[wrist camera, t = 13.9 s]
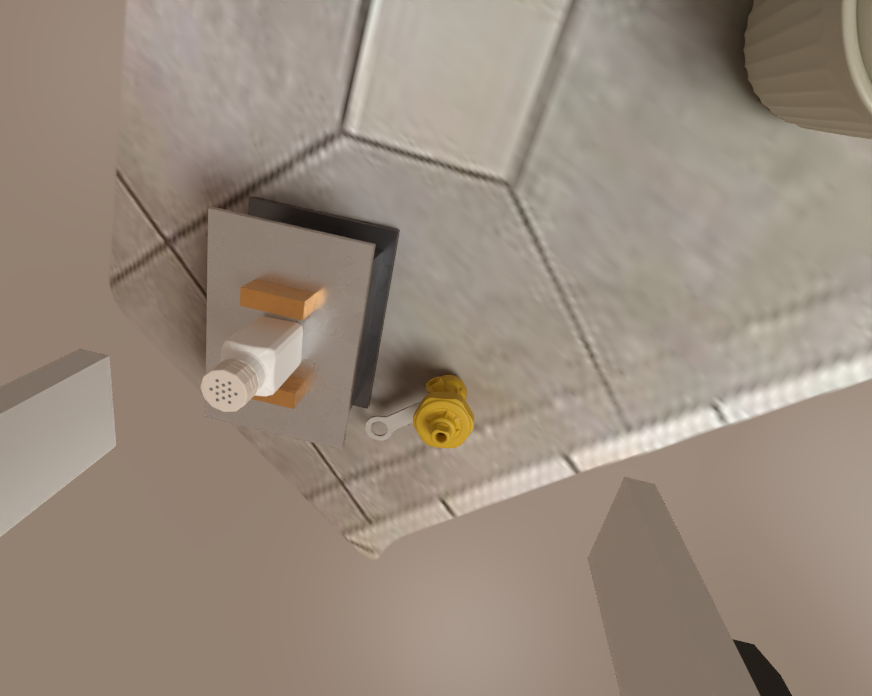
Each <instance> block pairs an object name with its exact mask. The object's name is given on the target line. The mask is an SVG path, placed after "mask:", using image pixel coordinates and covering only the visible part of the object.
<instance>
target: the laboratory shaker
mask: <svg viewBox="0 0 872 696" xmlns="http://www.w3.org/2000/svg"><path fill="white" fill-rule="evenodd" d="M399 232H400V230H397V229H393V228H389V227H384V226H380V225H375V224H371V223H367V222H362V221H358V220H354V219H349V218H345V217H340V216H336V215H332V214H327V213H323V212H319V211H314V210H310V209H305V208H301V207H297V206H292V205H288V204H284V203H279V202H275V201H270V200H266V199H262V198H257V197H250V198H249V213H248V215H246V214H242V213H238V212H233V211H229V210H225V209H220V208H216V207H211V208H208V256H207V325H206V374H207V373H208V372H209V371H211V370H212V369H213V368H214V367H216V366H217V365H218V364H219V363H220V362H221V350H222V346H223V344H224V342H225V340H227V339H228V338H229V337H231V336H232V335H234V334H235V333H236V332H238V331H239V330H241V329H242V328H243V327H245V326H246V325H248V324H249V323H250V322H252V321H253V320H255V319H256V318H257V317H261V316H265V317H270V318H275V319H280V320H285V321H290V322H295V323H299V324H301V325H302V327H303V341H302V357H301V363H300V365H299V366H298V367H297V368H296V370H295V371H294V372H293V373H292V374H291V375H290V376H289V377H288V379H287V380H286V381H285V382H284V383H283V384H282V385H281V386H280V387H279V389H278V390H277V391H276V392H275V393H274V394H273V395H270V396H255V395H254V396H253V397H252V398H251V399H250V400H249V402H248V403H247V404H246V405H245V406H243V407H242V408H240V409H239V410H237V411H236V412H223V411H221V410H218V409H216V408H214V407H212V406H211V405H210V404H209V403H208V402H207V401H206V399H205V417H207V418H212V419H216V420H220V421H225V422H229V423H233V424H237V425H241V426H245V427H250V428H254V429H258V430H262V431H266V432H271V433H275V434H279V435H283V436H288V437H292V438H296V439H300V440H304V441H309V442H313V443H317V444H321V445H326V446H330V447H334V448H338V449H343V447H344V445H345V438H346V432H347V426H348V419H349V413H350V410H351V408H352V406H353V405H355V406H359V407H363V408H367V409H368V406H369V404H370V399H371V393H372V388H373V382H374V376H375V370H376V365H377V359H378V353H379V347H380V341H381V336H382V330H383V324H384V318H385V313H386V307H387V301H388V295H389V289H390V284H391V278H392V272H393V266H394V261H395V255H396V249H397V243H398V237H399Z"/></svg>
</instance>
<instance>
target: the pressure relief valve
mask: <svg viewBox="0 0 872 696" xmlns="http://www.w3.org/2000/svg"><path fill="white" fill-rule="evenodd" d="M425 388H426V390H427V391H428V393H429V394H427V395H426V396H425V398H424V399H423V400H422V401H420V402H418V403H416V404H414V405H411V406H409V407H407V408H405V409H402V410H400V411H398V412H396V413H393V414H391V415H389V416H373V417H371V418H370V419H369V420H368V421H367V423H366V427H365V428H366V432H367V434H368V435H369V436H370V437H371V438H373V439H375V440H379V441H382V440H386V439H388V438H389V437H390V436H391V435H392V433H393V432H394V431H395V430H396V429H398V428H401V427H403V426H405V425H408V424H410V423H412V422H413V425H414V427H415V429H416V431H417V432H418V434H419V436H420V437H421V439H422V440H423V441H424V443H426V444H428V445H429V446H432V447H439V448H456V447H458V446H460V445H461V444H462V443H463V442H464V441H465V440H466V438H467V437H468V436H469V434H470V433H471V431H472V430H473V427H474V415H473V413H472V411H471V409H470V407H469V406H468V404H467V402H466V401H465V400H466V395H467V389H466V387H465V385H464V383H463V382H462V380H461V379H459V378H458V377H456V376H454V375H443V376H440V377H435V378H433V379H431V380H429V381H428V382H427V383H426V385H425ZM376 421H380V422H383V423H384V424H386V426H387V428H388V431H387V433H386V434H384V435H377V434H375V433H374V432H373V431H372V429H371V425H372V423H374V422H376Z"/></svg>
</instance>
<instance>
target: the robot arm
mask: <svg viewBox="0 0 872 696" xmlns="http://www.w3.org/2000/svg"><path fill="white" fill-rule="evenodd" d="M115 446H116V438H115V424H114V411H113V398H112V384H111V371H110V357H109V355H104V354H100V353H96V352H92V351H87V350H83V349H79V350H76V351H74V352H72V353H70V354H68V355H66V356H64V357H62V358H60V359H57V360H55V361H53V362H51V363H49V364H47V365H45V366H43V367H41V368H39V369H37V370H34V371H32V372H30V373H28V374H26V375H24V376H22V377H20V378H18V379H16V380H14V381H12V382H9V383H7V384H5V385H3V386H1V387H0V537H1V536H2V535H3V534H5V533H6V532H7V531H8V530H10V529H11V528H12V527H13V526H15V525H16V524H17V523H18V522H20V521H21V520H22V519H24V518H25V517H26V516H27V515H29V514H30V513H31V512H33V511H34V510H35V509H36V508H37V507H39V506H40V505H41V504H43V503H44V502H45V501H47V500H48V499H49V498H50V497H51V496H53V495H54V494H55V493H57V492H58V491H59V490H60V489H62V488H63V487H64V486H65V485H67V484H68V483H69V482H71V481H72V480H73V479H74V478H76V477H77V476H78V475H80V474H81V473H82V472H83V471H85V470H86V469H87V468H89V467H90V466H91V465H92V464H94V463H95V462H96V461H97V460H99V459H100V458H101V457H103V456H104V455H105V454H106V453H108V452H109V451H110V450H111V449H113V448H114V447H115ZM588 562H589V566H590V570H591V574H592V578H593V582H594V587H595V591H596V595H597V599H598V603H599V607H600V611H601V616H602V620H603V624H604V628H605V632H606V636H607V640H608V644H609V649H610V653H611V657H612V661H613V665H614V669H615V673H616V678H617V682H618V686H619V690H620V694H621V696H792V695H791V693H790V691H789V690H788V688H787V686H786V684H785V682H784V681H783V679H782V677H781V675H780V674H779V673H778V672H777V671H776V669H774V667H773V666H772V665H771V664H770V662H769V661H768V660H767V659H766V658H765V657H764V656H763V655H762V653H761V652H760V651H759V650H758V649H757V647H756V646H755V645H754V644H750V643H745V642H741V641H737V640H733V639H732V638H731V636H730V634H729V632H728V630H727V628H726V626H725V624H724V622H723V620H722V618H721V616H720V614H719V612H718V610H717V608H716V606H715V604H714V602H713V599H712V597H711V595H710V594H709V592H708V589H707V587H706V585H705V584H704V582H703V580H702V577H701V575H700V574H699V571H698V569H697V567H696V565H695V563H694V561H693V559H692V557H691V555H690V553H689V552H688V549H687V547H686V545H685V543H684V541H683V540H682V537H681V535H680V533H679V531H678V529H677V527H676V525H675V523H674V521H673V519H672V517H671V515H670V513H669V511H668V509H667V507H666V505H665V503H664V501H663V499H662V497H661V495H660V493H659V491H658V489H657V487H656V485H655V484H652V483H647V482H644V481H639V480H635V479H631V478H626V477H624V479H623V481H622V484H621V486H620V488H619V490H618V493H617V495H616V497H615V499H614V501H613V504H612V506H611V508H610V510H609V512H608V515H607V517H606V519H605V521H604V524H603V526H602V528H601V531H600V532H599V535H598V537H597V539H596V541H595V543H594V546H593V548H592V550H591V553H590V555H589V557H588Z"/></svg>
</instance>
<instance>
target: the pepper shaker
mask: <svg viewBox="0 0 872 696" xmlns="http://www.w3.org/2000/svg"><path fill="white" fill-rule="evenodd" d="M302 341H303V327H302V325H301V324H299V323H295V322H290V321H285V320H280V319H275V318H270V317H265V316H261V317H257V318H256V319H255V320H253V321H252V322H250V323H249V324H248V325H246V326H245V327H243V328H242V329H241V330H239V331H238V332H236V333H235V334H234V335H232V336H231V337H229V338H228V339H227V340H225V342H224V344H223V346H222V350H221V362H220V363H219V364H218V365H217V366H216V367H214V368H213V369H212V370H211V371H209V372H208V373H207V374H205V375H204V376H203V379H202V383H201V386H200V387H201V390H202V393H203V397H204V398H205V399H206V401H207V402H208V403H209V404H210V405H211V406H212V407H214V408H216V409H218V410H221V411H223V412H236V411H237V410H239V409H240V408H242V407H243V406H245V405H246V404H247V403H248V402H249V400H250V399H251V398H252V397H253V396H254V395H255V396H270V395H273V394H274V393H275V392H276V391H277V390H278V389H279V387H280V386H281V385H282V384H283V383H284V382H285V381H286V380H287V379H288V377H289V376H290V375H291V374H292V373H293V372H294V371H295V370H296V368H297V367H298V366H299V365H300V363H301V357H302Z"/></svg>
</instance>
